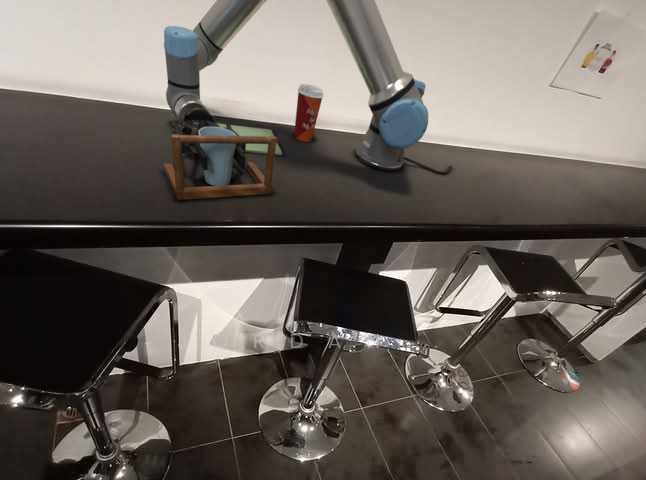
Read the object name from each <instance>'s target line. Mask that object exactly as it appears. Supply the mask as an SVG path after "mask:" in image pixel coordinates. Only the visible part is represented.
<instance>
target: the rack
mask: <svg viewBox="0 0 646 480" xmlns="http://www.w3.org/2000/svg"><path fill="white" fill-rule="evenodd" d="M170 142H171V148H172V149H171V150H172V160H173V164H172V163H163V170H164V173H165V176H166V178H167V180H168V182H169V185H170V186H171V188H172V190H173V193H174V196H175V197H176V199H177V201H183V200H199V199H213V198H227V197H228V198H229V197H243V196H257V195H271V194H272V190H273V186H272V180H273V172H274V163H275V149H276V144H277V143H278V137H277V136H275V135H274V136H214V135H187V134H183V135H178V134H172V133H171V134H170ZM181 143H199V144H200V143H203V144H268V151H267V154H266V161H265V171H264V174H263V173H262V171H260V169H259V168H258V167H257V165H256V163H255V162H253V161H246V166H245V169H246V170H247V172H248V173H249V174H250V176H251V178H252V179H253V180H254V182H255V183H247V184H246V183H245V184H228V185H226V186H213V185H210V186H194V187H193V186H191V187H188V186H187V187H185V177H184V162H183V153H182V147H181Z"/></svg>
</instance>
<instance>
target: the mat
mask: <svg viewBox="0 0 646 480" xmlns="http://www.w3.org/2000/svg"><path fill="white" fill-rule="evenodd" d="M217 124H218V125H219V126H220V127H222V128H224V127H226V125H227V124H225V123H217ZM230 125H231V127H232V129H233V130H234V131H235V132H236V133H237V134H238V135H239V136H275V135H274V133H273V130H272V129H268V128H260V127H251V126H242V125H235V124H234V125H233V124H230ZM267 151H268V144H246V150H245V153H252V154H254V153H255V154H265V155H267ZM275 155H277V156H283V152H282V150H281V147H280V146H279V143H278V142H277V144H276V149H275Z"/></svg>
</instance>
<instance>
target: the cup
mask: <svg viewBox="0 0 646 480" xmlns="http://www.w3.org/2000/svg"><path fill="white" fill-rule="evenodd" d="M198 134H199V135H214V136H236V134H235V133H233V132H232V131H230V130H228V129H225V128H220V127H203V128H201V129H199V131H198ZM199 145H200V146H201V148H202V150H203V151H204V153H205V154H206V156H207V170H203V176H204V181H205V182H206V183H207V184H209V185H210V186H226V185H230V183H231V179H232V178H231V177H232V171H233V165H234V160H235V159H234V152H235V146H236V144H203V143H199Z"/></svg>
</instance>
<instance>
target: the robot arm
mask: <svg viewBox="0 0 646 480" xmlns="http://www.w3.org/2000/svg"><path fill="white" fill-rule="evenodd" d="M267 1H268V0H216V1H215V2H214V3H213V4H212V6H211V7H210V8H209V9H208V11H207V12H206V13H205V15H204V16H202V18H201V19H200V21H199V22H198V23H197V24H196V25H195V27H194V28H193V30H192V29H190V28H187V27H184V26H179V25H178V26H176V25H167V26H166V27H165V28H164V30H163V49H164V56H165V67H166V77H167V87H166V90H165V98H166V99H165V100H166V102H167V105H168V107H169V109H170V110H171V111H172V113H173V114H174V117H175V118H176V119H177V121H178V123H179V124H178V123H177V122H171V123H170V124H171V135H172V134H178V135H199V134H198V131H199V129H201V128H203V127H220V126H219V125H218V124H219V123H216V121H215V118H214V117H213V115H212V114H211V113H210V111H209V110H208V108H207V106H205V104H204V103H203V102H202V100H201V81H200V79H201V78H200V75H201V74H200V72H201V71H202V70H204V69H205V68H207V67H209V66H211V65H213V64H214V63H215V62H216V61H217V59H218V57H219V55H220V54H221V53H222V52H223V50H224V49H225V48H226V47H227V46H228V45H229V44H230V43H231V41H232V40H233V39H234V38H235V37H236V36H237V35H238V34H239V33H240V31H241V30H242V29H243V28H244V27H245V26H246V24H247V23H248V22H250V20H251V19H252V18H253V17H254V16H255V14H256V13H257V12H258V11H259V10H260V9H261V8H262V6H264V4H265V3H266V2H267ZM326 3H327V6H328V7H329V9H330V11H331V13H332V15H333V17H334V20H335V22H336V24H337V26H338V28H339V30H340V32H341V34H342V35H341V36H342V37H343V39H344V40H345V42H346V45H347V47H348V50H349V52H350V54H351V56H352V58H353V60H354V63H355V65H356V67H357V69H358V71H359V73H360V75H361V78H362V79H363V81H364V83H365V85H366V89H367V90H368V93H369V97H368V100H367V105H368V107H369V110H370V111H371V114H372V116H371V120H370V123H369V126H368V129H367V130H366V132H365V134H364V135H363V137H362V139H361V140H360V141H359V142H358V145H357V147H356V149H355V153H354V154H355V157H356V159H358V160H359V161H360V162H361V163H363V164H364V165H366V166H368V167H371V168H373V169H376V170H380V171H385V172H397V171H399V170H401V169H402V167H403V165H404V161H407V162H409V163H412V164H415V165H416V166H419V167H421V168H423V169H426V170H428V171H431V172H433V173H436V174H442V175H443V174H449V172H450V171H451V170H452V168H453V165H451V164H450V165H449V166H448V168H447V170H446V171H442V170H438V169H434V168H433V167H430V166H428V165H425V164H422V163H420V162H418V161H416V160H413V159H411V158H408V157H406V156H405V149H407V148H410V147H412V146H414V145H415V144H416V143H418V142H419V141H420V140H421V139H422V138H423V136H425V133H426V132H427V129H428V126H429V111H428V108H427V106H426V105H425V103H424V101H423V99H422V98H423V96H424V95H425V90H426V86H427V85H426V83H425V82H423V81H421V80H418V79H415V78H414V76H413V74H412V73H409V72H406V71H404V69H403V67H402V65H401V62H400V60H399V58H398V55H397V53H396V50H395V47H394V44H393V42H392V40H391V38H390V35H389V32H388V30H387V27H386V25H385V23H384V20H383V18H382V15H381V12H380V10H379V8H378V5H377V2H376V0H326ZM225 125H226V127H224V128H225V129H228V130H230V131H232V132H233V133H235V134H236V136H239V135H238V134H237V133H236V132H235V131H234V130H233V129H232V127H231V125H232V124H225ZM220 128H222V127H220ZM181 147H182V154H185V153H186V152H187V153H188V158H190V159H193V160H197V161H198V163H199V165H200V167H201V169H202V171H204V170H207V156H206V154H205V153H204V151H203V150H202V148H201V146H200V143H181ZM245 150H246V144H236V146H235V152H234V159H233V160H234V161H235V163H236V164H237V165H238V167H239V168H240V169H241V170H245V169H246V155H245V153H246V152H245Z"/></svg>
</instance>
